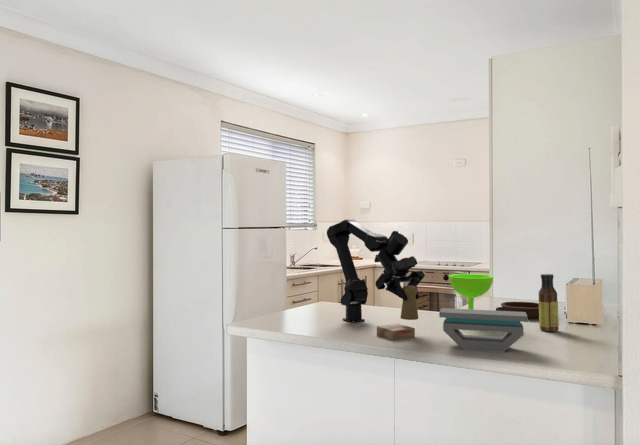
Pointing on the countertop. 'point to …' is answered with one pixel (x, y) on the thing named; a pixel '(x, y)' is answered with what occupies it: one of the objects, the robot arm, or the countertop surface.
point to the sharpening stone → (483, 328)
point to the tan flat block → (395, 331)
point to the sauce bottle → (548, 305)
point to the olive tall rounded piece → (409, 304)
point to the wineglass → (471, 285)
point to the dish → (521, 308)
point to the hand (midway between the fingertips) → (412, 299)
